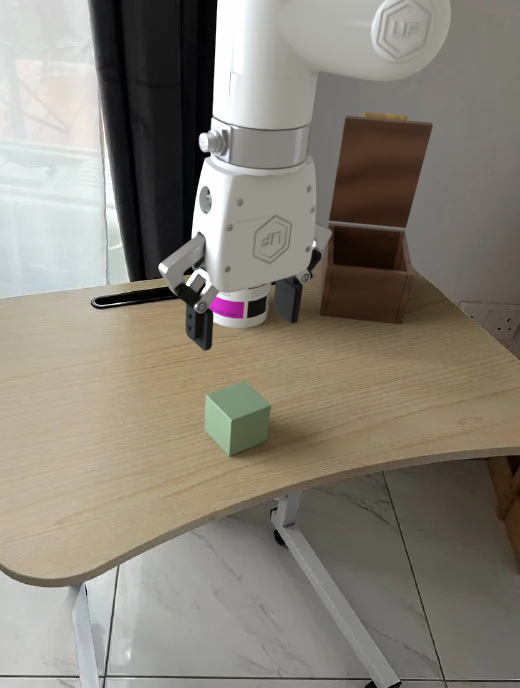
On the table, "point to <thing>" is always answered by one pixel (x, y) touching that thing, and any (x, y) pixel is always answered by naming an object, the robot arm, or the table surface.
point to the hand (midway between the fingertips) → (243, 329)
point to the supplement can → (241, 307)
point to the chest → (365, 274)
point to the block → (236, 417)
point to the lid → (378, 169)
